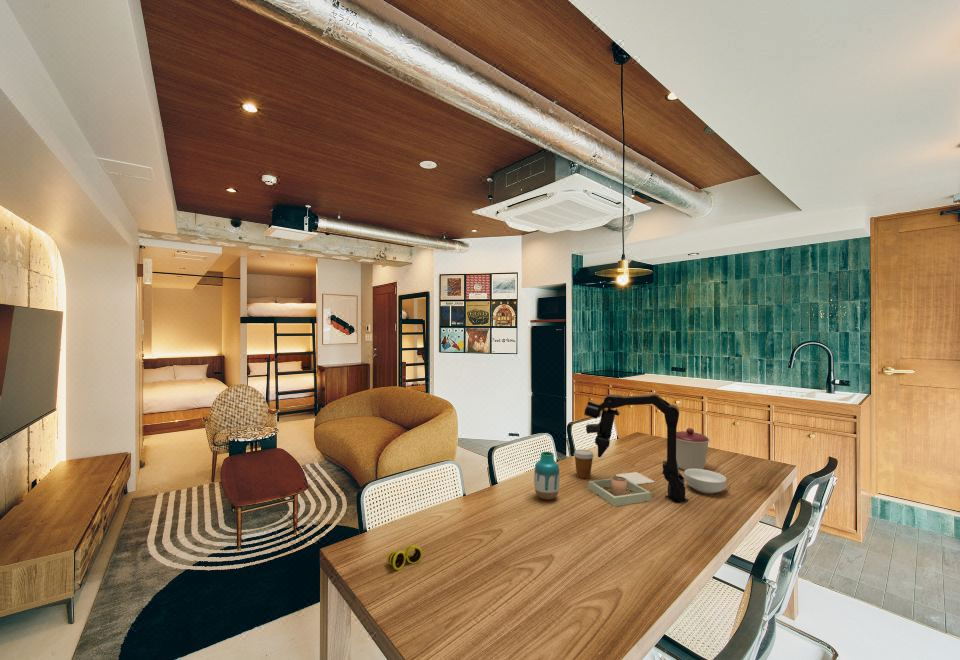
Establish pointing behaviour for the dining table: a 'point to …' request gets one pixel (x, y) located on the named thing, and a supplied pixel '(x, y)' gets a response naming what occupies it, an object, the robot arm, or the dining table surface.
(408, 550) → the opera glasses
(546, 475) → the vase
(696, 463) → the canister
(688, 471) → the cereal bowl
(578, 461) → the disposable coffee cup
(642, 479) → the potting mat
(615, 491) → the terracotta pot
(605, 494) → the shallow rimmed tray
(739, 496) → the dining table surface
